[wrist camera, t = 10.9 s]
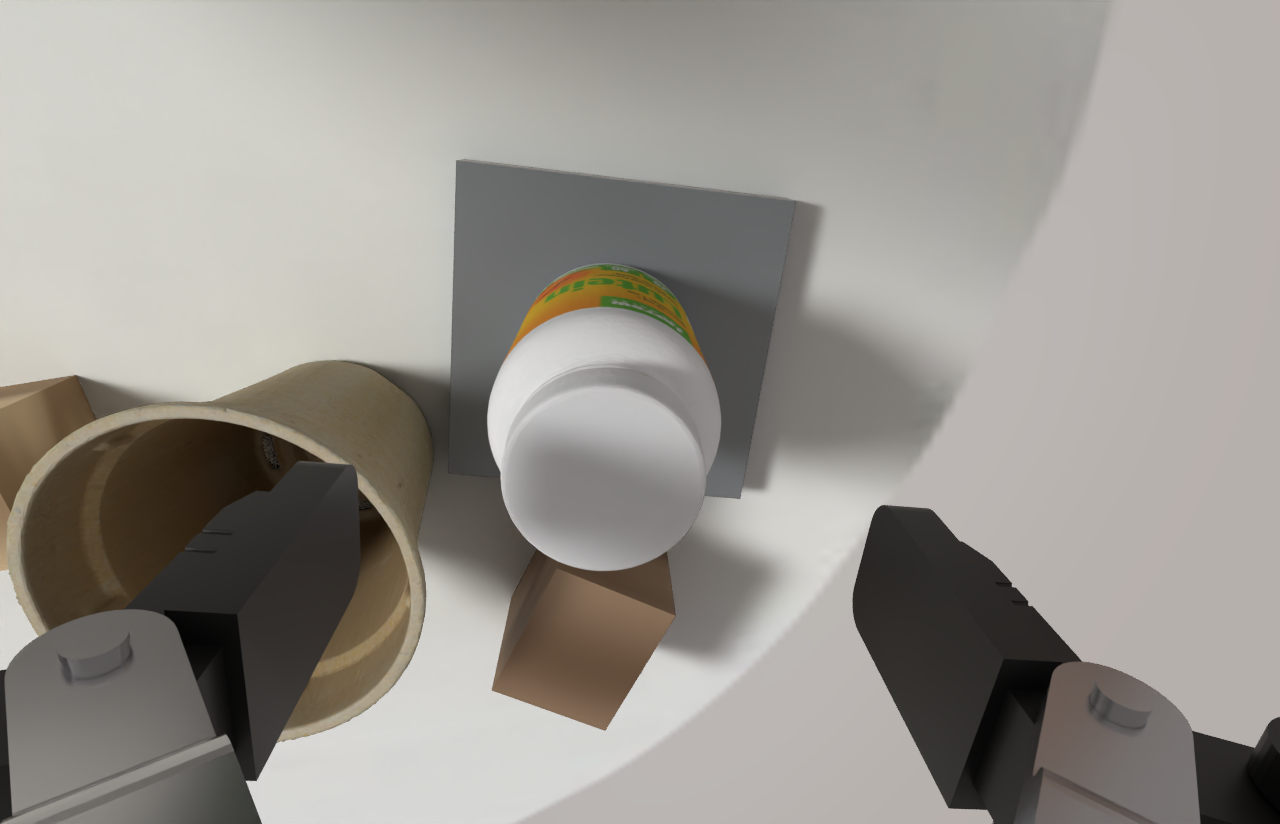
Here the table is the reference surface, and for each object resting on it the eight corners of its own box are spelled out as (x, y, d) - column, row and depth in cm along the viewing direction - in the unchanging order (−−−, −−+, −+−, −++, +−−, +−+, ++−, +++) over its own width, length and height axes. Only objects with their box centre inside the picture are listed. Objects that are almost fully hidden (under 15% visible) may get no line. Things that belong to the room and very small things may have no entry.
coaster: (464, 159, 22) (456, 160, 21) (786, 198, 23) (795, 201, 21) (455, 458, 25) (448, 473, 24) (734, 483, 26) (740, 499, 25)
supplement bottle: (696, 261, 22) (755, 348, 13) (688, 425, 24) (735, 601, 15) (518, 258, 22) (451, 345, 13) (525, 424, 24) (471, 603, 15)
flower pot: (533, 493, 26) (498, 655, 18) (317, 600, 27) (193, 795, 19) (381, 261, 23) (256, 329, 15) (145, 393, 24) (-90, 523, 16)
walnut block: (566, 491, 26) (556, 568, 21) (664, 532, 27) (675, 615, 22) (511, 596, 27) (491, 690, 23) (605, 633, 28) (605, 730, 24)
